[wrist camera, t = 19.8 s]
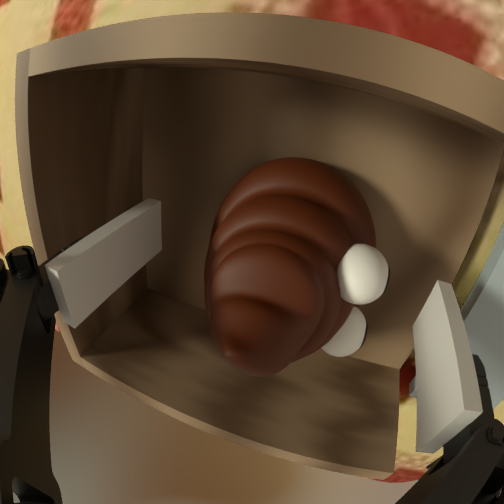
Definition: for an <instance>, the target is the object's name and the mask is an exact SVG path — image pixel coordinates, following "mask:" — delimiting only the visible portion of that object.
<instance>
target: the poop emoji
mask: <svg viewBox="0 0 504 504" xmlns="http://www.w3.org/2000/svg"><path fill="white" fill-rule="evenodd" d="M389 280H390V267H389V265H388V264H387V261H386V259H385V258H384V256H383V255H382V254H381V253H380V252H379V251H378V250H377V249H376V234H375V228H374V223H373V219H372V216H371V213H370V210H369V208H368V206H367V204H366V202H365V200H364V198H363V196H362V195H361V193H360V192H359V190H358V189H357V188H356V186H355V185H354V184H353V183H352V182H351V181H350V180H349V179H348V178H347V177H346V176H344V175H343V174H342V173H341V172H339V171H338V170H336V169H334V168H333V167H331V166H329V165H327V164H324V163H322V162H319V161H316V160H312V159H308V158H300V157H286V158H279V159H275V160H271V161H268V162H266V163H263V164H261V165H259V166H257V167H255V168H254V169H252V170H251V171H249V172H248V173H247V174H245V175H244V176H243V177H242V178H241V179H240V180H239V181H238V182H237V183H236V184H235V185H234V186H233V188H232V189H231V190H230V192H229V193H228V194H227V196H226V197H225V199H224V201H223V203H222V204H221V206H220V208H219V211H218V213H217V215H216V218H215V221H214V224H213V227H212V231H211V236H210V242H209V248H208V251H207V255H206V260H205V267H204V298H205V307H206V312H207V316H208V320H209V323H210V329H211V334H212V338H213V341H214V343H215V345H216V347H217V349H218V351H219V352H220V354H221V355H222V356H223V358H224V359H225V360H226V361H227V362H228V363H229V364H230V365H231V366H232V367H234V368H235V369H236V370H238V371H240V372H242V373H244V374H246V375H249V376H253V377H267V376H271V375H274V374H276V373H278V372H280V371H281V370H283V369H284V368H286V367H287V366H288V365H289V364H290V363H292V362H295V361H297V360H299V359H301V358H304V357H306V356H308V355H310V354H312V353H314V352H316V351H317V350H319V349H320V348H322V349H323V350H324V351H325V352H326V353H328V354H330V355H332V356H336V357H344V356H348V355H350V354H352V353H354V352H355V351H357V350H358V349H359V348H361V347H362V346H363V344H364V342H365V339H366V336H367V330H368V324H367V321H366V320H365V317H364V315H363V314H362V312H361V311H360V310H359V309H358V308H359V307H360V305H361V304H368V303H371V302H373V301H375V300H376V299H378V298H379V297H380V296H381V295H383V294H384V293H385V291H386V290H387V287H388V284H389Z"/></svg>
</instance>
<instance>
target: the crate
mask: <svg viewBox="0 0 504 504" xmlns="http://www.w3.org/2000/svg"><path fill="white" fill-rule="evenodd" d="M15 121H16V140H17V152H18V162H19V171H20V179H21V186H22V192H23V199H24V204H25V210H26V215H27V220H28V225H29V230H30V234H31V238H32V243H33V247H34V251H35V255H36V258H37V262H38V266H39V265H41V264H42V263H43V262H45V261H46V260H48V259H49V258H50V257H52V256H53V255H55V254H56V253H58V252H59V251H62V249H63V248H65V247H66V246H69V244H71V243H72V242H74V241H75V240H77V239H79V238H82V237H85V236H87V235H89V234H91V233H92V232H94V231H95V230H97V229H98V228H100V227H102V226H103V225H105V224H106V223H108V222H110V221H111V220H113V219H114V218H116V217H118V216H119V215H121V214H122V213H124V212H126V211H127V210H129V209H131V208H132V207H134V206H136V205H138V204H139V203H141V202H143V201H144V200H146V199H148V198H150V199H154V200H158V201H161V234H162V250H161V251H160V252H159V253H158V254H156V255H155V256H154V257H153V258H152V259H151V260H150V261H148V262H147V263H146V264H145V265H144V266H143V267H142V268H140V269H139V270H138V271H137V272H136V273H135V274H134V275H132V276H131V277H130V278H129V279H128V280H127V281H126V282H125V283H124V284H122V285H121V286H120V287H119V288H118V289H117V290H116V291H115V292H114V293H113V294H111V295H110V296H109V297H108V298H107V299H106V300H105V301H104V302H103V303H102V304H101V305H99V306H98V307H97V308H96V309H95V310H94V311H93V312H92V313H91V314H90V315H89V316H88V317H87V318H86V319H85V320H84V321H83V322H81V323H80V324H79V325H78V326H77V327H76V328H73V327H71V326H70V325H68V324H67V323H65V322H64V321H63V320H62V317H61V315H60V312H59V310H58V311H57V312H56V313H55V314H54V315H55V318H56V321H57V323H58V326H59V329H60V331H61V334H62V336H63V339H64V341H65V343H66V346H67V348H68V350H69V353H70V355H71V357H72V360H73V361H75V362H77V363H78V364H79V365H81V366H82V367H84V368H86V369H87V370H88V371H90V372H92V373H93V374H95V375H96V376H98V377H100V378H101V379H103V380H105V381H106V382H108V383H109V384H111V385H113V386H115V387H116V388H118V389H120V390H122V391H123V392H125V393H127V394H128V395H130V396H132V397H134V398H136V399H138V400H139V401H141V402H143V403H145V404H147V405H149V406H151V407H153V408H155V409H157V410H159V411H161V412H163V413H165V414H167V415H169V416H171V417H173V418H175V419H178V420H180V421H182V422H184V423H186V424H189V425H191V426H193V427H196V428H198V429H200V430H203V431H205V432H208V433H210V434H212V435H215V436H217V437H220V438H223V439H225V440H228V441H230V442H233V443H236V444H239V445H242V446H244V447H247V448H250V449H253V450H256V451H259V452H262V453H265V454H268V455H272V456H275V457H278V458H282V459H285V460H289V461H292V462H296V463H300V464H304V465H308V466H312V467H316V468H320V469H325V470H330V471H334V472H339V473H344V474H350V475H355V476H361V477H368V478H375V479H382V480H384V479H385V478H387V477H388V476H390V475H392V474H393V473H394V466H395V456H396V446H397V433H398V416H399V380H400V370H399V369H400V368H401V366H402V365H403V364H404V362H405V361H406V359H407V358H408V356H409V355H410V353H411V352H412V350H413V349H414V337H413V324H414V323H415V321H416V319H417V317H418V316H419V314H420V312H421V310H422V309H423V307H424V305H425V303H426V301H427V299H428V297H429V296H430V294H431V292H432V290H433V288H434V286H435V284H436V282H437V280H440V281H443V282H446V283H449V284H452V282H453V280H454V278H455V276H456V274H457V272H458V270H459V268H460V266H461V264H462V262H463V260H464V258H465V255H466V253H467V251H468V249H469V247H470V244H471V242H472V240H473V238H474V235H475V233H476V230H477V228H478V226H479V223H480V221H481V218H482V215H483V213H484V210H485V208H486V205H487V202H488V199H489V196H490V194H491V191H492V188H493V185H494V182H495V178H496V175H497V172H498V169H499V165H500V162H501V158H502V155H503V151H504V80H502V79H500V78H498V77H496V76H494V75H492V74H490V73H488V72H486V71H484V70H482V69H480V68H478V67H476V66H474V65H472V64H470V63H467V62H465V61H463V60H461V59H458V58H456V57H454V56H451V55H449V54H446V53H444V52H441V51H439V50H436V49H433V48H431V47H428V46H425V45H422V44H419V43H416V42H413V41H410V40H407V39H404V38H400V37H397V36H394V35H390V34H387V33H383V32H379V31H375V30H371V29H367V28H363V27H358V26H354V25H349V24H344V23H338V22H333V21H327V20H321V19H314V18H307V17H298V16H289V15H278V14H263V13H197V14H182V15H171V16H162V17H154V18H147V19H140V20H134V21H128V22H122V23H117V24H112V25H108V26H103V27H99V28H94V29H90V30H86V31H83V32H79V33H75V34H72V35H68V36H65V37H62V38H58V39H55V40H52V41H49V42H46V43H43V44H41V45H38V46H35V47H32V48H30V49H27V50H25V51H22V52H20V53H17V61H16V79H15ZM286 157H300V158H308V159H312V160H316V161H319V162H322V163H324V164H327V165H329V166H331V167H333V168H334V169H336V170H338V171H339V172H341V173H342V174H343V175H344V176H346V177H347V178H348V179H349V180H350V181H351V182H352V183H353V184H354V185H355V186H356V188H357V189H358V190H359V192H360V193H361V195H362V196H363V198H364V200H365V202H366V204H367V206H368V208H369V210H370V213H371V216H372V219H373V223H374V228H375V234H376V249H377V250H378V251H379V252H380V253H381V254H382V255H383V256H384V258H385V259H386V261H387V264H388V265H389V267H390V280H389V284H388V287H387V290H386V291H385V293H384V294H383V295H381V296H380V297H379V298H378V299H376V300H375V301H373V302H371V303H368V304H361V305H360V307H359V308H358V309H359V310H360V311H361V312H362V314H363V315H364V317H365V320H366V321H367V324H368V330H367V336H366V339H365V342H364V344H363V346H362V347H361V348H359V349H358V350H357V351H355V352H354V353H352V354H350V355H348V356H344V357H336V356H332V355H330V354H328V353H326V352H325V351H324V350H323V349H322V348H320V349H319V350H317V351H316V352H314V353H312V354H310V355H308V356H306V357H304V358H301V359H299V360H297V361H295V362H292V363H290V364H289V365H288V366H287V367H286V368H284V369H283V370H281V371H280V372H278V373H276V374H274V375H271V376H267V377H253V376H249V375H246V374H244V373H242V372H240V371H238V370H236V369H235V368H234V367H232V366H231V365H230V364H229V363H228V362H227V361H226V360H225V359H224V358H223V356H222V355H221V354H220V352H219V351H218V349H217V347H216V345H215V343H214V341H213V338H212V334H211V329H210V323H209V320H208V316H207V312H206V307H205V298H204V267H205V260H206V255H207V251H208V248H209V242H210V236H211V231H212V227H213V224H214V221H215V218H216V215H217V213H218V211H219V208H220V206H221V204H222V203H223V201H224V199H225V197H226V196H227V194H228V193H229V192H230V190H231V189H232V188H233V186H234V185H235V184H236V183H237V182H238V181H239V180H240V179H241V178H242V177H243V176H244V175H245V174H247V173H248V172H249V171H251V170H252V169H254V168H255V167H257V166H259V165H261V164H263V163H266V162H268V161H271V160H275V159H279V158H286Z"/></svg>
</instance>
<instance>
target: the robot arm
mask: <svg viewBox="0 0 504 504" xmlns="http://www.w3.org/2000/svg"><path fill="white" fill-rule="evenodd" d="M161 250H162V234H161V201H158V200H154V199H150V198H148V199H146V200H144V201H143V202H141V203H139V204H138V205H136V206H134V207H132V208H131V209H129V210H127V211H126V212H124V213H122V214H121V215H119V216H118V217H116V218H114V219H113V220H111V221H110V222H108V223H106V224H105V225H103V226H102V227H100V228H98V229H97V230H95V231H94V232H92V233H91V234H89V235H87V236H85V237H82V238H79V239H77V240H75V241H74V242H72V243H71V244H69V246H66V247H65V248H63V249H62V251H59V252H58V253H56V254H55V255H53V256H52V257H50V258H49V259H48V260H46V261H45V262H43V263H42V264H41V265H39V266H38V263H37V260H36V256H35V252H34V249H33V248H32V247H30V246H20V247H17V248H14V249H12V250H11V251H10V252H8V253H7V255H6V256H5V258H6V261H7V264H8V267H9V270H7V269H6V267H5V264H4V261H3V260H2V259H0V504H62V498H61V492H60V488H59V485H58V483H57V481H56V479H55V477H54V475H53V473H52V467H51V454H50V433H49V394H50V374H51V360H52V349H53V339H54V331H55V323H56V319H55V315H54V314H55V313H56V312H57V311H58V310H59V312H60V315H61V317H62V320H63V321H64V322H65V323H67V324H68V325H70V326H71V327H73V328H76V327H77V326H78V325H79V324H80V323H81V322H83V321H84V320H85V319H86V318H87V317H88V316H89V315H90V314H91V313H92V312H93V311H94V310H95V309H96V308H97V307H98V306H99V305H101V304H102V303H103V302H104V301H105V300H106V299H107V298H108V297H109V296H110V295H111V294H113V293H114V292H115V291H116V290H117V289H118V288H119V287H120V286H121V285H122V284H124V283H125V282H126V281H127V280H128V279H129V278H130V277H131V276H132V275H134V274H135V273H136V272H137V271H138V270H139V269H140V268H142V267H143V266H144V265H145V264H146V263H147V262H148V261H150V260H151V259H152V258H153V257H154V256H155V255H156V254H158V253H159V252H160V251H161ZM413 337H414V349H415V363H416V385H417V435H416V452H424V453H435V452H436V451H437V450H439V449H440V448H441V447H444V451H443V455H442V456H441V457H440V458H438V459H437V460H435V461H434V462H432V463H431V464H430V465H428V466H427V467H426V468H427V469H428V468H430V469H429V470H428V471H427V472H426V473H425V474H424V475H423V476H422V477H421V478H420V479H419V481H418V482H417V483H416V484H415V485H414V486H413V487H412V488H411V489H410V490H409V491H408V492H407V493H406V494H405V495H404V496H403V497H402V498H401V499H399V500H398V501H397V502H396V503H395V504H504V425H503V424H502V423H501V422H500V421H498V420H497V419H494V413H493V406H492V401H491V395H490V390H489V388H488V386H489V385H488V380H487V379H486V377H487V376H486V371H485V367H484V365H483V363H482V361H481V359H480V358H479V356H478V355H475V354H472V352H471V348H470V344H469V340H468V336H467V333H466V329H465V325H464V322H463V318H462V315H461V312H460V308H459V305H458V302H457V299H456V296H455V293H454V290H453V287H452V284H449V283H446V282H443V281H440V280H437V282H436V284H435V286H434V288H433V290H432V292H431V294H430V296H429V297H428V299H427V301H426V303H425V305H424V307H423V309H422V310H421V312H420V314H419V316H418V317H417V319H416V321H415V323H414V324H413ZM501 490H502V491H501ZM13 492H14V493H15V494H16V495H17V496H18V498H19V500H20V503H14V502H13ZM500 492H501V493H500ZM499 495H500V496H499Z"/></svg>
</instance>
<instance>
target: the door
mask: <svg viewBox="0 0 504 504" xmlns="http://www.w3.org/2000/svg"><path fill="white" fill-rule="evenodd" d="M460 312H461V315H462V318H463V322H464V325H465V329H466V333H467V336H468V340H469V344H470V348H471V352H472V354H475V355H478V356H479V358H480V359H481V361H482V363H483V365H484V367H485V371H486V376H487V377H486V379H487V380H488V385H489V386H488V388H489V390H490V395H491V401H492V406H493V409H494V408H495V407H496V406H497V405H498V404H499V403H500V402H501V401H502V400H503V399H504V223H503V226H502V228H501V231H500V233H499V235H498V238H497V240H496V242H495V244H494V247H493V249H492V251H491V253H490V255H489V257H488V259H487V262H486V264H485V266H484V268H483V270H482V272H481V274H480V275H479V277H478V279H477V281H476V283H475V285H474V287H473V289H472V290H471V292H470V294H469V296H468V298H467V299H466V301H465V303H464V305H463V306H462V308H461V310H460ZM409 396H412V397H415V398H417V385H416V376H415V377H414V378H413V380H412V381H411V382H410V387H409Z"/></svg>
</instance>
